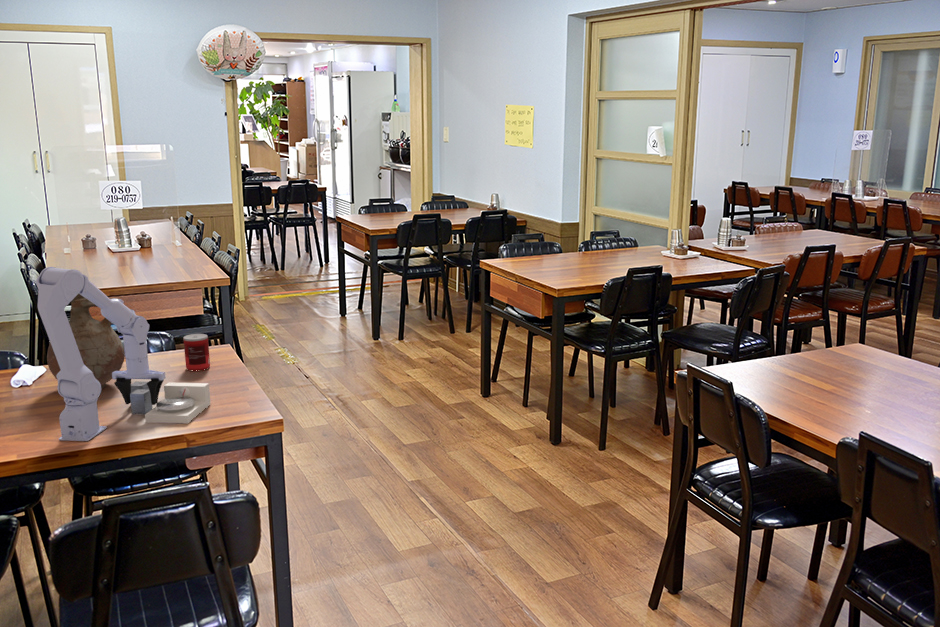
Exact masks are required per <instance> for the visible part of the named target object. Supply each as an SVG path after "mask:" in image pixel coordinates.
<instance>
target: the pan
mask: <svg viewBox="0 0 940 627" xmlns="http://www.w3.org/2000/svg"><path fill="white" fill-rule="evenodd" d="M194 404H195V400H194V399H193V398H190V397H173V398H168V399H165V398H164V399H161V400H158V403H157V404H155V405H156V406H155V407H157V409H159V410H163V411H175V410H182V409H186V408H189V407H191V406H192V405H194Z"/></svg>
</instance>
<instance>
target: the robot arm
mask: <svg viewBox="0 0 940 627" xmlns="http://www.w3.org/2000/svg"><path fill="white" fill-rule="evenodd" d="M35 284H36V286H37V289H38V296H37V310H38V313H39V316H40V318H41V321H42V324H43V326H44V330H45V331H46V334H47V337H48V340H49V342H50V343H51V345H52V348H53V351H54V353H55V356H56V359H57V361H58V364H59V367H60V369H61V370H60V372H59V373H58V374H57V375H56V377H57V379H56V381H57V388H56V390H57V392H58V394H59V395H60V396H61V397H63V402H65V407H64V409H63V410H62V411H61V412H60V414H59V427H60V435H61V436H60V437H58V440H59V441H66V442H67V441H68V442H69V441H71V442H72V441H73V442H74V441H78V442H88V441H90V440H91V439H93V438H94V437H96V436H98V435H99V434H101V432H103V431H105V430H106V429H107V428H108V426H106V425H100V420H99V418H100V417H99V411H98V403H97V402H98V399H99V396H100V395H101V393H102V389H101V384H100V382H99V381H98V380H97V379H96V378H95V377H94V375H93V372H92V371H91V370H90V369H88V368H87V367H86V366H85V365H84V363H83V360H82V358H81V355H80V352H79V349H78V346H77V344H76V341H75V338H74V335H73V333H72V330H71V327H70V324H69V321H70V320H69V319H68V316H67V314H66V311H65V310H66V308H67V306H68V305H69V304H71V301H72V300H73V299H74V298H75V297H76V296H77V295H78V294H80V295H82V296H83V297H85V298H86V299H88V300H89V301H91V302H92V303H93V304H95V305H96V306H98V307H97V308H99V309H100V314H101V316H102V317H104V318H106V319H108V320H109V321H110V322H112V324H113V325H114V326H115V327H116V330H117V332H118V333H120V334H122V338H123V347H124V351H125V357H124V359H125V365H126V366H125V367H126V370H120V371H114V372H113V373H112V379H111V380H115V381H114V386H115V387H116V388H117V390H118V391H119V393H120V394H121V396H122V397H123V400H124V402H125V403H124V404H125V405H129V404H131V400H130V393H131V384H132V380H149V381H147V382H148V383H147V385H148V388H149V391H150V395H151V403H152V406H155V405H156V404H157V403H158V402H159V395H160V390H161V387H162V385H163V382H164V380H165V379H166V371H159V370H154V369H150V366H149V365H150V364H149V357H148V356H149V355H148V354H149V353H148V346H147V339H148V332H149V330H150V324H149V323H148V321H147V319H146V318H145V317H144V316H142V315H137V314H136V311H135V310H134V309H131V308H129V307H128V306H127V305H125V304H124V303H125V301H124V299H120V298H109V296H107V294H105V293H104V292H103V291H102V290H101V289H99V288H98V287H97V285H95V284H94V283H93V282H91V280H90V279H89V276H87V275H85V274H83V273H82V271H80V270H78V269H76V268H74V269H73V268H71V269H69V268H61V267H54V266H48V267H45V268H44V269H42V270H41V272H40V274H39V275H38V277H37V278H36V280H35ZM50 343H49V344H50Z"/></svg>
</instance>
